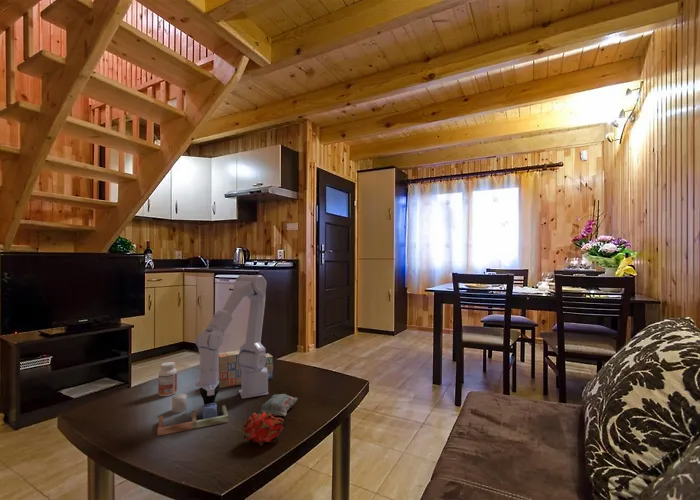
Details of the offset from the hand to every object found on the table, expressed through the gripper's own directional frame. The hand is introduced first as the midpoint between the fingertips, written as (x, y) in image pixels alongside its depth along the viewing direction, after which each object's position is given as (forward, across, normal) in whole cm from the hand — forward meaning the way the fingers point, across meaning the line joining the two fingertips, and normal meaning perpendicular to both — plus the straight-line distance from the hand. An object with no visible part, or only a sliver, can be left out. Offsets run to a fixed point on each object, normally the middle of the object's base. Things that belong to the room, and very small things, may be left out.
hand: (208, 410), depth 111 cm
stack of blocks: (+1, -26, +16) cm, 31 cm away
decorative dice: (+1, +4, 0) cm, 4 cm away
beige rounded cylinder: (+1, -7, -8) cm, 11 cm away
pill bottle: (+1, -25, -12) cm, 28 cm away
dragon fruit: (+1, +25, +12) cm, 28 cm away
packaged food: (+1, +9, +21) cm, 23 cm away
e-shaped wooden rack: (+1, +4, -4) cm, 6 cm away
